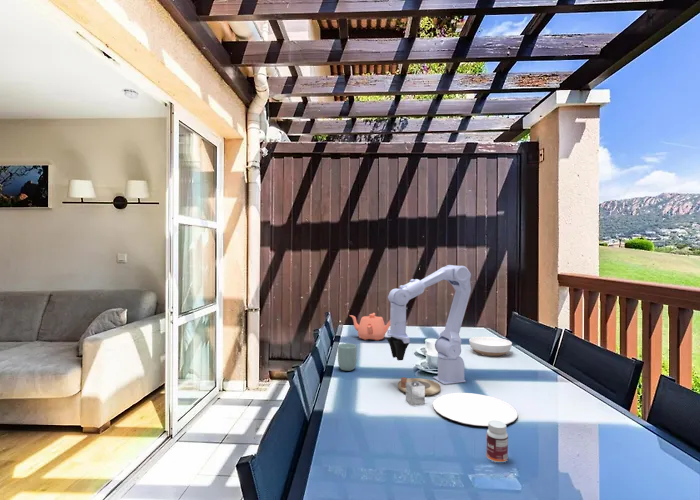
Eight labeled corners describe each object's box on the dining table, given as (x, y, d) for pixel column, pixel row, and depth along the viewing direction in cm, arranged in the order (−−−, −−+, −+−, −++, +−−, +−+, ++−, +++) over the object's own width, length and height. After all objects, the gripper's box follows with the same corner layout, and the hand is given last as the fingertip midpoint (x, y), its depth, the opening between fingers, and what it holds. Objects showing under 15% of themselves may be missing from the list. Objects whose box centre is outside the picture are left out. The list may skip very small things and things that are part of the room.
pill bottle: (483, 454, 96) (483, 419, 96) (501, 453, 96) (502, 419, 96) (491, 464, 91) (492, 428, 91) (511, 463, 92) (511, 428, 92)
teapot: (348, 337, 221) (348, 313, 221) (373, 333, 232) (374, 310, 232) (368, 344, 206) (369, 318, 206) (394, 339, 217) (394, 314, 217)
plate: (473, 438, 104) (473, 432, 104) (416, 405, 127) (416, 399, 127) (536, 420, 116) (536, 414, 116) (473, 392, 138) (473, 387, 138)
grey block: (417, 399, 131) (417, 380, 131) (424, 404, 127) (424, 384, 127) (405, 400, 129) (405, 381, 129) (412, 406, 125) (412, 386, 125)
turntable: (426, 378, 149) (426, 368, 149) (449, 392, 135) (449, 381, 135) (390, 382, 144) (391, 372, 144) (410, 397, 130) (410, 385, 130)
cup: (354, 373, 158) (354, 348, 158) (335, 371, 160) (335, 347, 160) (358, 367, 166) (358, 343, 166) (340, 366, 167) (340, 342, 167)
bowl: (515, 352, 193) (515, 339, 193) (507, 361, 176) (507, 348, 176) (475, 346, 203) (475, 334, 203) (464, 355, 187) (464, 342, 187)
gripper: (380, 318, 149) (379, 354, 149) (396, 325, 135) (396, 365, 135) (397, 317, 151) (396, 352, 152) (415, 324, 138) (414, 363, 138)
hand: (397, 358), depth 144 cm, fingers open, 3 cm apart
